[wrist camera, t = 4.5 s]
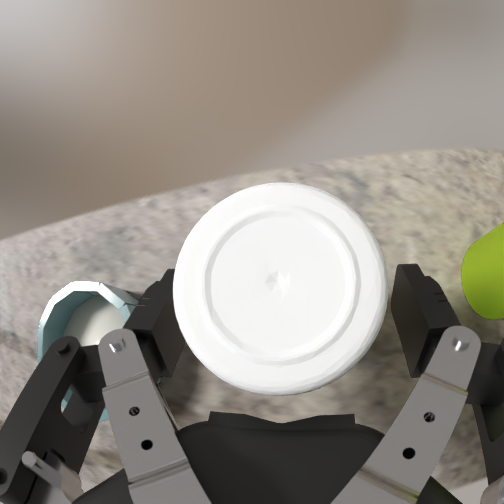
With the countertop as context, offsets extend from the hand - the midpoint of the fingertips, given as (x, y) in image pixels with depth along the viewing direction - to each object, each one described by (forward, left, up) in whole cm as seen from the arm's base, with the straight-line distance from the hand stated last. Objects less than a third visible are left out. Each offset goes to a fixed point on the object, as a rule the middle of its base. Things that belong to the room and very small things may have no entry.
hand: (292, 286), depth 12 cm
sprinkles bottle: (-1, 0, -8) cm, 8 cm away
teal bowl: (-10, +10, -8) cm, 16 cm away
